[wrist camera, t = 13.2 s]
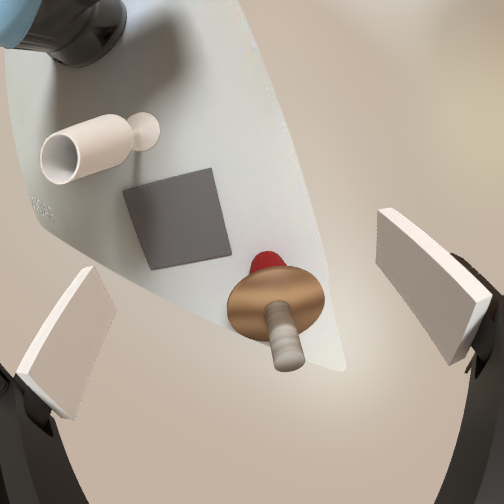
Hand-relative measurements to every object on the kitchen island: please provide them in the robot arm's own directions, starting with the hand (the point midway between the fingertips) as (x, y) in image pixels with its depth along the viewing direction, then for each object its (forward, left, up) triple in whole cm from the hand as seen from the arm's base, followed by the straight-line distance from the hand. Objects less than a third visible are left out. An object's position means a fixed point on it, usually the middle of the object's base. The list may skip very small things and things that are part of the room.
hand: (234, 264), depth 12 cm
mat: (+10, -12, -35) cm, 38 cm away
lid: (+22, +2, -23) cm, 32 cm away
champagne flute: (-7, -14, -35) cm, 38 cm away
